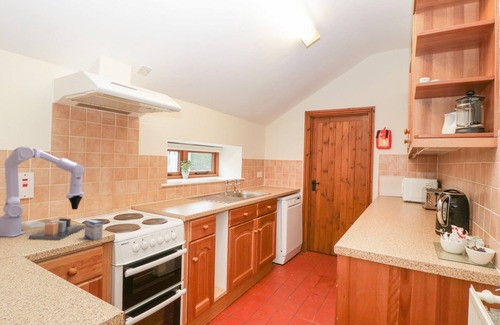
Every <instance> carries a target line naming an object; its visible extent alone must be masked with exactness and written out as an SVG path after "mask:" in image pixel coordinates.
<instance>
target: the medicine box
mask: <svg viewBox="0 0 500 325" xmlns="http://www.w3.org/2000/svg"><path fill="white" fill-rule="evenodd" d="M84 225H85V229H84V238H85V237H86V238H85V239H87V238H89V240H91V239H92V241H97V240H101V239H102V237H103V228H104V227H103V226H104V222H103V221H100V220H96V219H88V220H87V219H86V220H85V224H84Z"/></svg>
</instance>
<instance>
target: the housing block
mask: <svg viewBox="0 0 500 325" xmlns="http://www.w3.org/2000/svg"><path fill="white" fill-rule="evenodd" d="M50 221H51V222H50V223H45V224H44V230H45V233H44V234H46V235H54V234H56V233H58V226H59V223H54V221H55V220H50Z"/></svg>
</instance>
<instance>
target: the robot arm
mask: <svg viewBox="0 0 500 325" xmlns="http://www.w3.org/2000/svg"><path fill="white" fill-rule="evenodd" d="M32 158H35V159H36V158H37V159H42V160H45V161H48V162H49V163H53V164H55V165H56V168H58V169H60V170H64V171H66V172H70V182H69V183H70V185H69V193H67V194H66V196H65V198H66V199H68V200H69V202H70V206H71V210H78V207H79V204H80V202H81V201H82V199H83V196H85V191H83V179H84V178H83V176H84V173H85V171H86V169H85V167H84V166H83V165H82V164H78V163H77V162H76V161H72V160H70V159H68V157H59V158H58V157H56V156H54V155H51V154H49V153H48V152H45V151H43V150H40V149H37V148H32V147H31V146H27V145H25V146H19V147H16V148H15V149H13V150H12V151H11V152H10V154H9V156H8V157H7V158H6V160H4V174H5V194H6V195H5V196H6V197H5V205H4V206H3V208H2V210H3V212H4V213H5V214H4V215H3V216H0V237H7V238H8V237H9V238H12V237H13V238H14V237H17V236H21V235H23V234H26V231H22V225H23V224H22V223H23V215H22V214H23V212H24V207H23V206H22V205H21V200H20V187H19V165H22V163H23V162H24V161H28V160H30V159H32Z"/></svg>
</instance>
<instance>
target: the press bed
mask: <svg viewBox="0 0 500 325" xmlns="http://www.w3.org/2000/svg"><path fill="white" fill-rule="evenodd" d="M84 228H85V224H83V225H81V224H78V223H75V224H70V226H69V227H66V231H64V232H58V233H56V234H54V235H46V234H44V233H45V229H44V230H41V231H39V232H36V233H32V234H29V235H28V239H29V240H49V241H53V240H55V241H61V240H63V239H65V238H67V237H69V235H70V236H71V234H72V235H74V234H77V233H79V232H81V231H83V230H85V229H84ZM82 229H83V230H82ZM80 230H81V231H80ZM78 231H79V232H78ZM73 233H74V234H73Z"/></svg>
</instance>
